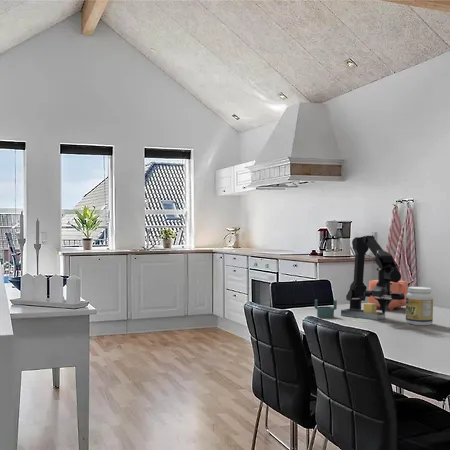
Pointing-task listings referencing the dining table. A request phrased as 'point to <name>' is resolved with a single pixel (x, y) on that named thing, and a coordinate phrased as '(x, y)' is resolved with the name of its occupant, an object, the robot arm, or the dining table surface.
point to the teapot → (395, 288)
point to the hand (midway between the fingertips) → (383, 312)
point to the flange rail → (362, 314)
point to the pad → (361, 320)
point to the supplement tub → (419, 306)
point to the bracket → (325, 310)
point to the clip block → (370, 308)
